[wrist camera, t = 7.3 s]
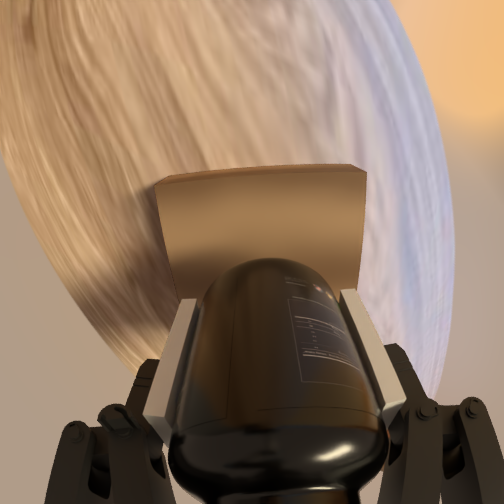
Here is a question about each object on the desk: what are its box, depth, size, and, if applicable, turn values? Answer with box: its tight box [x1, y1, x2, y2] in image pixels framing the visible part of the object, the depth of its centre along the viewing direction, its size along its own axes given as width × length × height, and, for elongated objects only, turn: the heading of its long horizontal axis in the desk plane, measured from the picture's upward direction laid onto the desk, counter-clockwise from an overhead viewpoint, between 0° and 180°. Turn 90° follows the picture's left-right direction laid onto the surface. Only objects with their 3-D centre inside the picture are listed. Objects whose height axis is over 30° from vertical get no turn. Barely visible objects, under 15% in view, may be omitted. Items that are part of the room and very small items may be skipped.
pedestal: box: [154, 164, 367, 310], centre depth 18 cm, size 12×12×3 cm
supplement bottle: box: [168, 258, 389, 504], centre depth 8 cm, size 7×7×12 cm
